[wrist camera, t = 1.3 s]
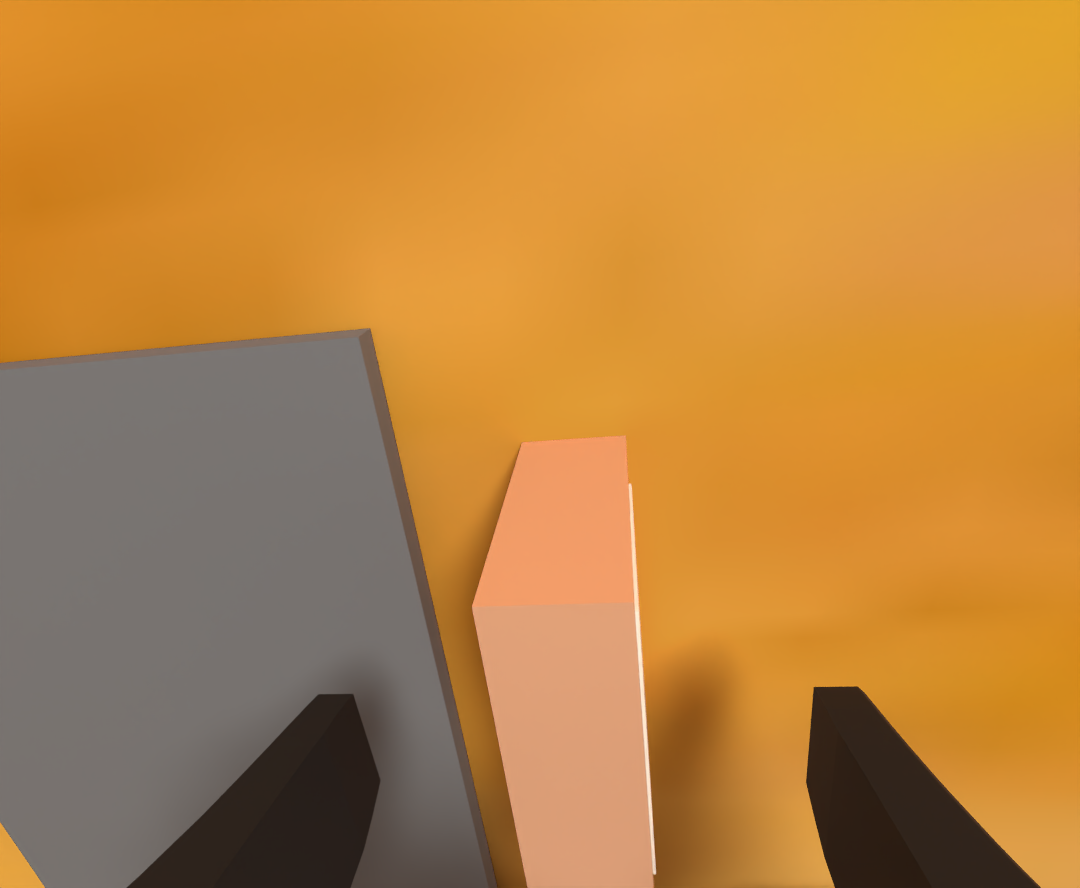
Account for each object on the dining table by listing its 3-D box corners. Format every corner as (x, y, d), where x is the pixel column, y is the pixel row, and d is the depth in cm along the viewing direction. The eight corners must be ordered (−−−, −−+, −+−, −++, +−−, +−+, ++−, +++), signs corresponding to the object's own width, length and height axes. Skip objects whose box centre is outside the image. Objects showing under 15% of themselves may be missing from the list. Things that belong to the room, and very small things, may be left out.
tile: (645, 705, 15) (660, 944, 11) (559, 705, 15) (537, 939, 11) (628, 434, 12) (637, 602, 8) (522, 440, 12) (471, 606, 8)
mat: (514, 960, 20) (511, 983, 19) (109, 941, 22) (96, 962, 21) (370, 328, 12) (357, 336, 11) (-256, 387, 14) (-292, 397, 13)
